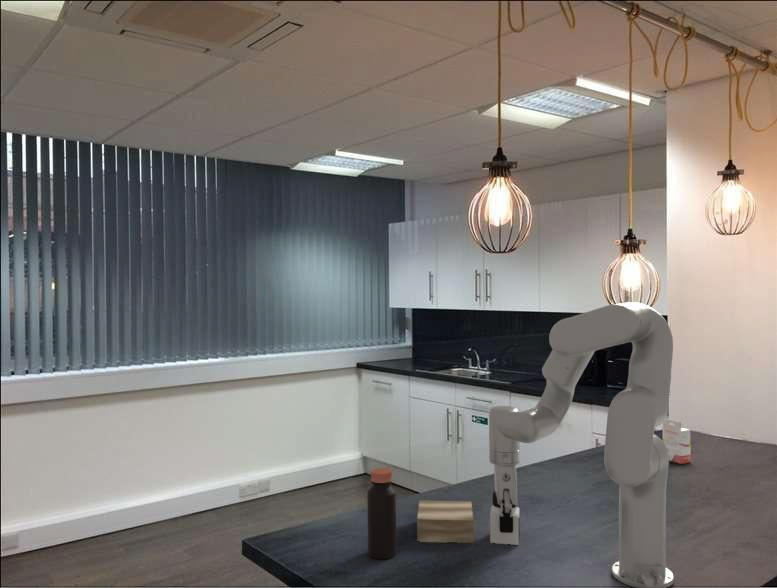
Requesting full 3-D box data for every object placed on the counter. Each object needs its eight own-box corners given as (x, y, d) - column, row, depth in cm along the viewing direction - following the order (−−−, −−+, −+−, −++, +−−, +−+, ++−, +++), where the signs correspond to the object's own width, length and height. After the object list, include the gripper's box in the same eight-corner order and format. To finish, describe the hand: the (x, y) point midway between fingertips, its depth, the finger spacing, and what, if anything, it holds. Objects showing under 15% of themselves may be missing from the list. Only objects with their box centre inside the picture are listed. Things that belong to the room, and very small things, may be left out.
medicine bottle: (519, 545, 159) (519, 497, 159) (490, 543, 160) (489, 495, 160) (519, 534, 166) (519, 488, 166) (491, 532, 167) (490, 486, 167)
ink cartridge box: (691, 462, 229) (691, 421, 228) (681, 464, 227) (681, 422, 226) (671, 456, 236) (671, 416, 236) (661, 458, 234) (661, 418, 234)
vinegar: (380, 545, 160) (379, 465, 159) (402, 553, 155) (401, 470, 155) (362, 555, 154) (361, 471, 154) (384, 562, 150) (383, 477, 150)
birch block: (473, 544, 161) (473, 520, 161) (417, 542, 162) (417, 519, 162) (471, 523, 175) (471, 501, 175) (419, 522, 176) (419, 500, 176)
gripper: (523, 466, 154) (523, 540, 154) (516, 447, 171) (516, 513, 171) (491, 465, 154) (492, 539, 155) (487, 447, 172) (487, 513, 172)
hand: (504, 525), depth 163 cm, fingers closed on medicine bottle, 7 cm apart
